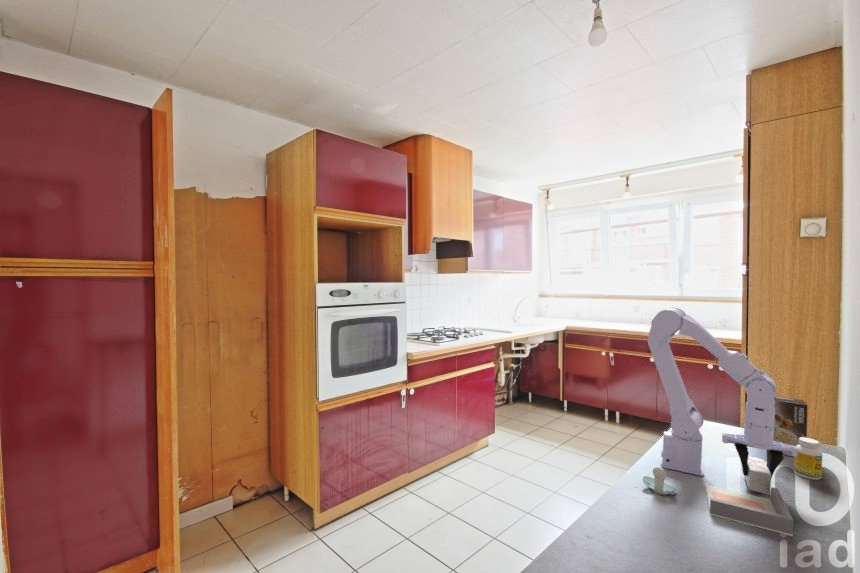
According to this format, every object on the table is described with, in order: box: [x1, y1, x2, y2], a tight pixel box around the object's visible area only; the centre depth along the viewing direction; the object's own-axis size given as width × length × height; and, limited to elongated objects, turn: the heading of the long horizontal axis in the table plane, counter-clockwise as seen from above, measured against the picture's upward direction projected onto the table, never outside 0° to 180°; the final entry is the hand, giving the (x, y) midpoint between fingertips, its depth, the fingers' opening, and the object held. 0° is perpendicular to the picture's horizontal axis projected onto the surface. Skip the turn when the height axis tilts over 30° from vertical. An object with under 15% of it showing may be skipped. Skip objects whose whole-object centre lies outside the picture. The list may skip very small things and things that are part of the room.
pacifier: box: [642, 466, 677, 496], centre depth 100 cm, size 7×6×6 cm
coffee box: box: [765, 395, 809, 458], centre depth 122 cm, size 9×6×16 cm
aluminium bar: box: [743, 455, 772, 496], centre depth 102 cm, size 9×4×5 cm, turn 149°
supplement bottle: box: [793, 437, 823, 481], centre depth 108 cm, size 5×5×10 cm
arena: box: [704, 484, 794, 537], centre depth 93 cm, size 14×14×3 cm
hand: (756, 476), depth 102 cm, fingers closed on aluminium bar, 4 cm apart
